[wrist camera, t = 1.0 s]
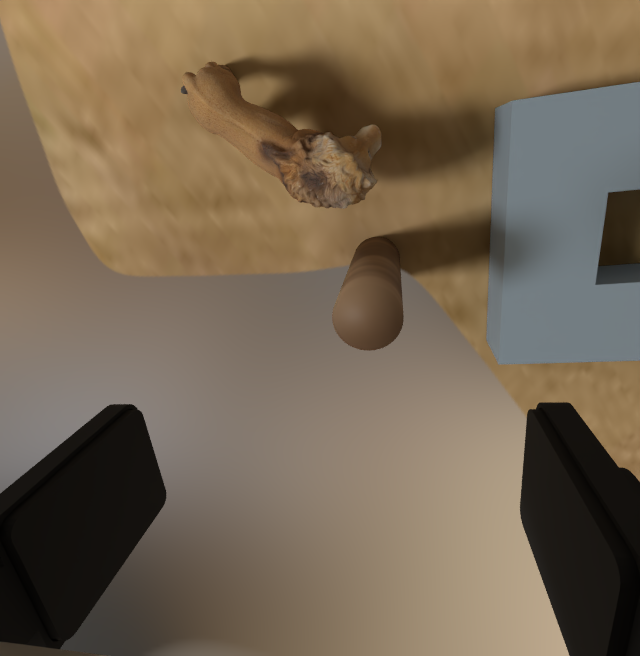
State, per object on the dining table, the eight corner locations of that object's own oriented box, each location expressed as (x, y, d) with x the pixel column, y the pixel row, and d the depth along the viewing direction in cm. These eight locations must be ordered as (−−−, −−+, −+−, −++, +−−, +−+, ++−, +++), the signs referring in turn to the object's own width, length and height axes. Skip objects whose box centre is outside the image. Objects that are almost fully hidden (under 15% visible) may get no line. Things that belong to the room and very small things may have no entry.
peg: (352, 239, 30) (328, 287, 19) (398, 234, 29) (401, 282, 18) (356, 283, 31) (336, 351, 20) (400, 279, 31) (404, 349, 20)
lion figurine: (395, 139, 27) (397, 132, 19) (363, 214, 29) (351, 237, 21) (194, 49, 27) (107, 4, 19) (176, 132, 29) (92, 124, 21)
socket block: (495, 108, 25) (512, 100, 22) (805, 63, 22) (886, 45, 19) (486, 340, 31) (498, 364, 28) (729, 330, 28) (779, 356, 24)
